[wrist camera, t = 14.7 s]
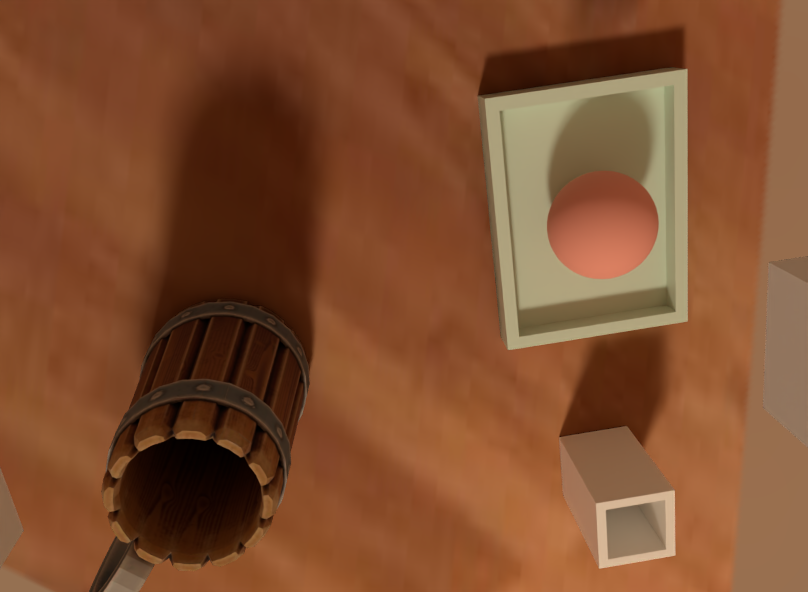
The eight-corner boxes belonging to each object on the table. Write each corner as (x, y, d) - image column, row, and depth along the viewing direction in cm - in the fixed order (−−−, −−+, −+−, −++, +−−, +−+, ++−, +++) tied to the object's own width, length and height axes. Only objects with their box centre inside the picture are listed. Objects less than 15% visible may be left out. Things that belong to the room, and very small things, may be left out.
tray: (477, 95, 45) (484, 98, 43) (671, 67, 45) (687, 68, 43) (500, 337, 50) (508, 350, 48) (673, 309, 51) (687, 321, 49)
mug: (204, 262, 47) (148, 362, 33) (341, 350, 50) (344, 476, 36) (79, 443, 50) (-20, 603, 36) (214, 515, 53) (171, 689, 39)
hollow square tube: (559, 437, 53) (596, 503, 46) (626, 425, 54) (674, 490, 46) (563, 495, 55) (599, 568, 48) (629, 484, 55) (675, 555, 48)
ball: (532, 169, 46) (559, 192, 40) (634, 154, 46) (676, 174, 40) (539, 267, 48) (566, 301, 42) (636, 252, 48) (677, 285, 42)
